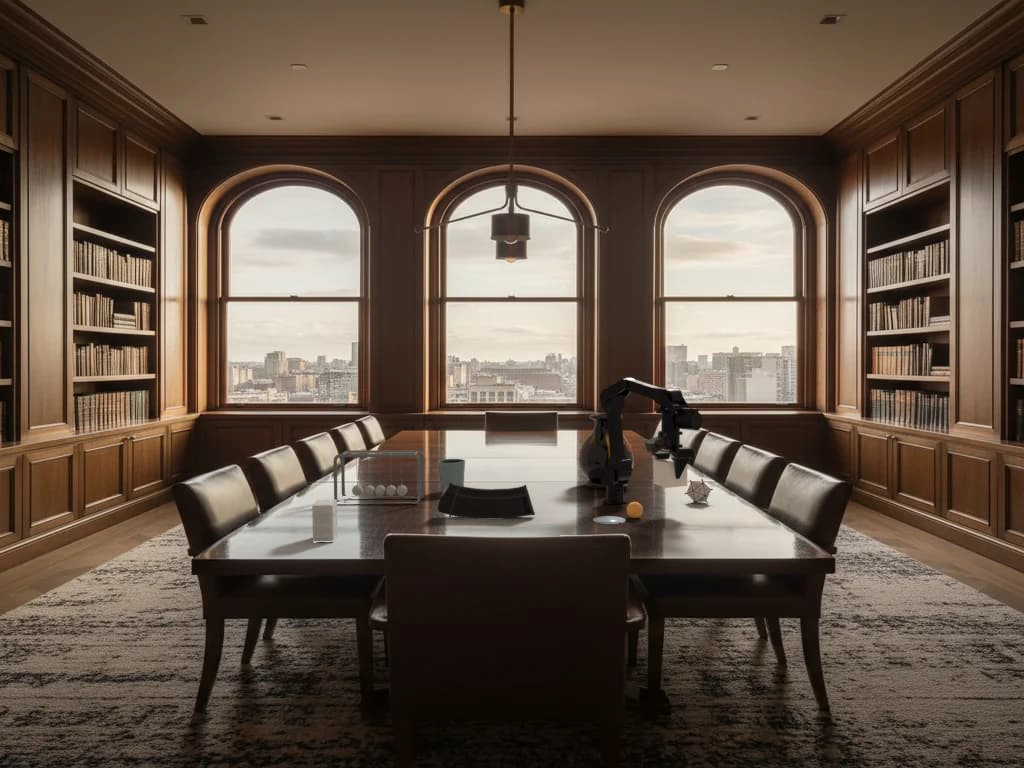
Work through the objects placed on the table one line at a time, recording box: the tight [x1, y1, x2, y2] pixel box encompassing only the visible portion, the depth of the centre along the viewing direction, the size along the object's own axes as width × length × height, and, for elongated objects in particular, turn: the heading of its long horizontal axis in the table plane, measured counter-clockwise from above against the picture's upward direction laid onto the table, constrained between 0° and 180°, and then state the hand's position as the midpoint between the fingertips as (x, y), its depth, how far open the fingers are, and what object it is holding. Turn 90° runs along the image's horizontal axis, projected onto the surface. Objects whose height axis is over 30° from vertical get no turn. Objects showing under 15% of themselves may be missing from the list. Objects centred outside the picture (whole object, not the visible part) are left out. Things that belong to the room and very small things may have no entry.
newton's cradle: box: [333, 449, 426, 505], centre depth 246 cm, size 30×10×18 cm, turn 88°
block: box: [652, 457, 688, 488], centre depth 223 cm, size 8×8×8 cm
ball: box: [626, 501, 644, 519], centre depth 219 cm, size 5×5×5 cm
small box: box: [311, 499, 338, 542], centre depth 195 cm, size 8×6×10 cm
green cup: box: [437, 458, 466, 493], centre depth 263 cm, size 10×10×12 cm
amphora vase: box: [578, 413, 635, 490], centre depth 273 cm, size 22×22×28 cm
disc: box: [592, 515, 627, 525], centre depth 216 cm, size 10×10×1 cm
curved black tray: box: [436, 482, 536, 519], centre depth 221 cm, size 17×3×30 cm
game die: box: [683, 478, 714, 505], centre depth 241 cm, size 9×8×10 cm
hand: (670, 476), depth 223 cm, fingers closed on block, 8 cm apart
